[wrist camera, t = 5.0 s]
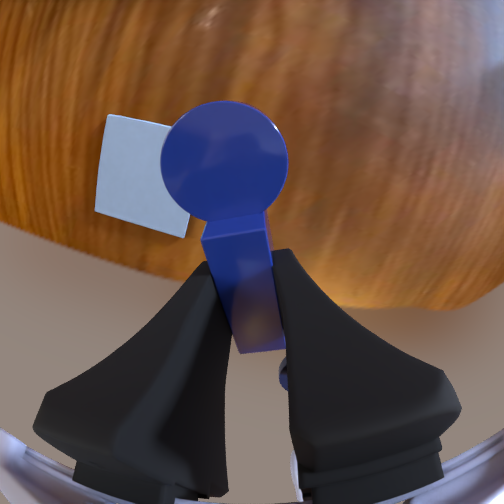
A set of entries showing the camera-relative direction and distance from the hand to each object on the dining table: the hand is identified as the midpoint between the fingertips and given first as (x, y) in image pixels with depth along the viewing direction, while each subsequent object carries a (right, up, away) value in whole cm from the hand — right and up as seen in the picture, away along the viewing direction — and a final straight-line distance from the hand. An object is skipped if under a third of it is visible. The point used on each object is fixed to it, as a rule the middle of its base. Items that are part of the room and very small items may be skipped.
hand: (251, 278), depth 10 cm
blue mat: (-7, +6, +7) cm, 11 cm away
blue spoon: (0, +2, +1) cm, 2 cm away
